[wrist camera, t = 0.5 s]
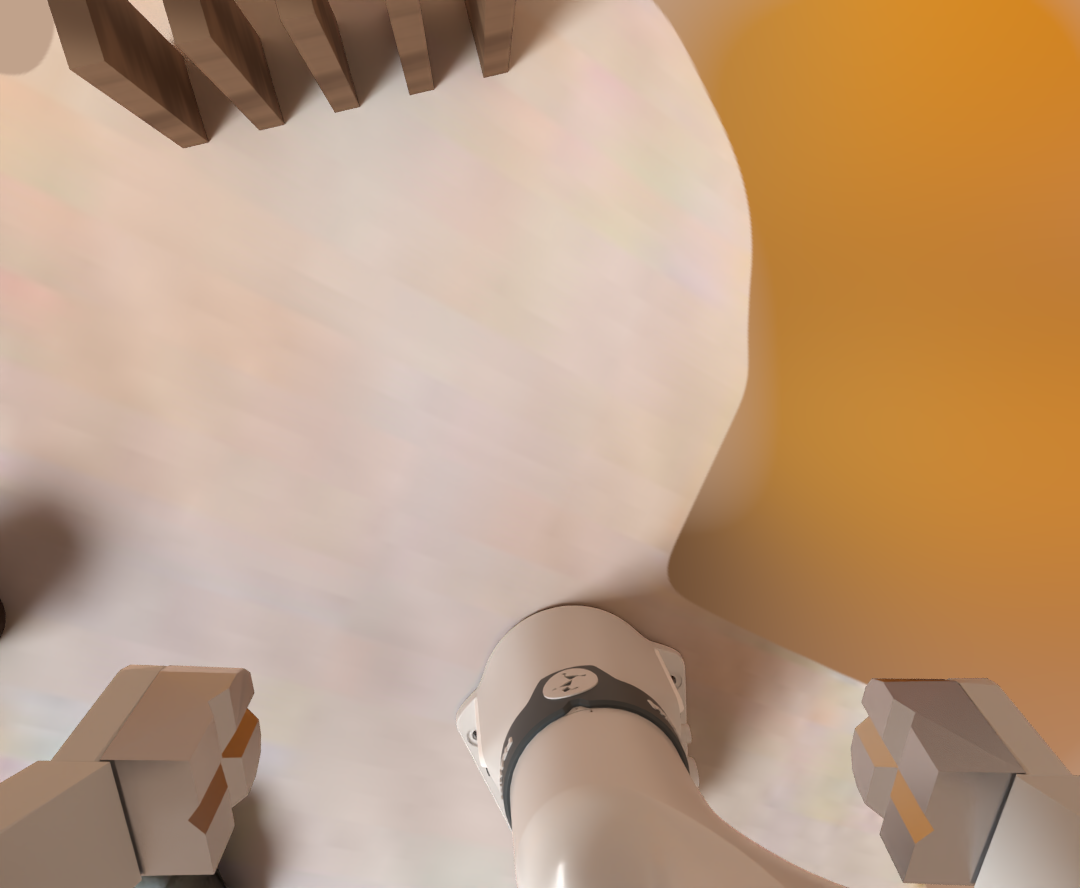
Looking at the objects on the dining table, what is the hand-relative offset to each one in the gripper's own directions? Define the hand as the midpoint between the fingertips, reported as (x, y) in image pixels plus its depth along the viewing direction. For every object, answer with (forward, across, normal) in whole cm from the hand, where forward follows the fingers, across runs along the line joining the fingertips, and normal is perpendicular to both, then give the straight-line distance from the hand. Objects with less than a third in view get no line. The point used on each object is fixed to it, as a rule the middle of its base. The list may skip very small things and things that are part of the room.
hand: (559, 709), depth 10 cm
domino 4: (+53, -10, +12) cm, 55 cm away
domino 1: (+50, -25, +8) cm, 57 cm away
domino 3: (+52, -15, +10) cm, 55 cm away
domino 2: (+51, -20, +9) cm, 56 cm away
